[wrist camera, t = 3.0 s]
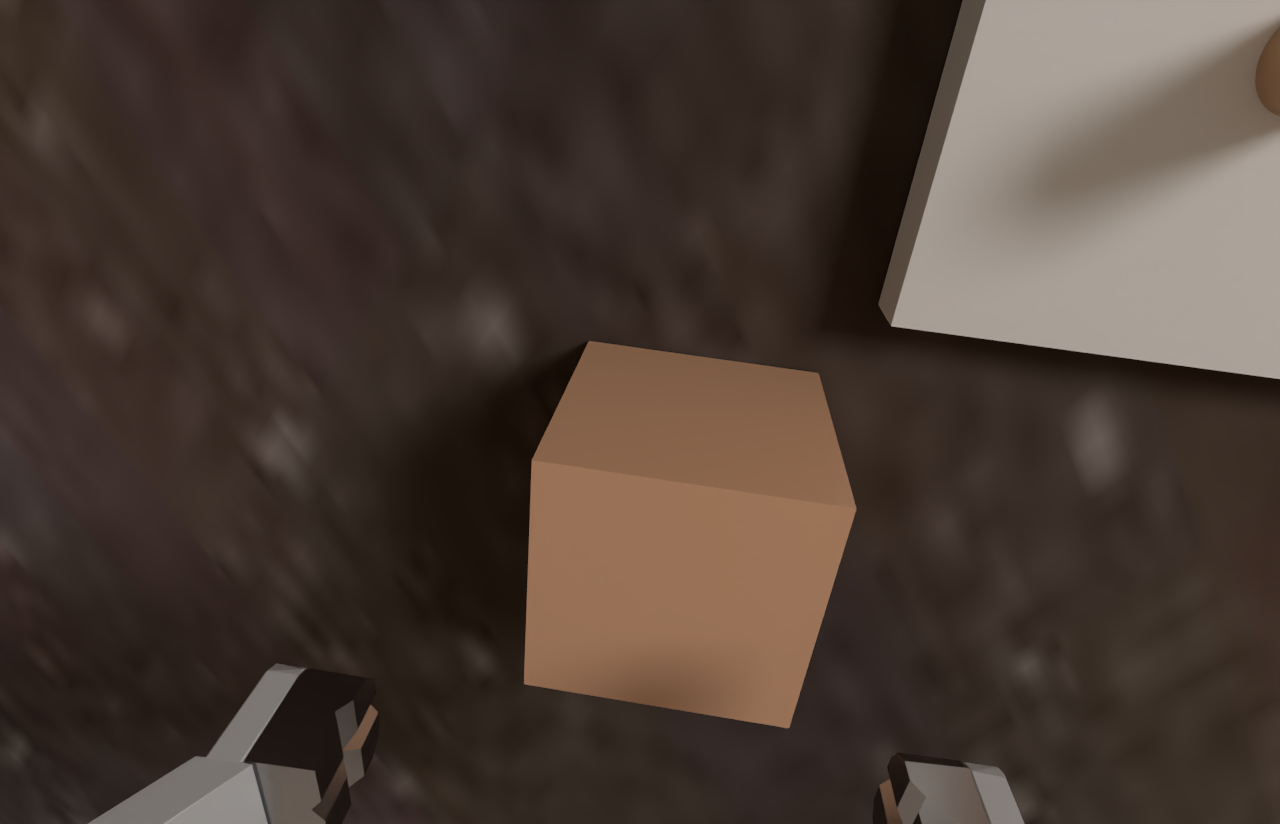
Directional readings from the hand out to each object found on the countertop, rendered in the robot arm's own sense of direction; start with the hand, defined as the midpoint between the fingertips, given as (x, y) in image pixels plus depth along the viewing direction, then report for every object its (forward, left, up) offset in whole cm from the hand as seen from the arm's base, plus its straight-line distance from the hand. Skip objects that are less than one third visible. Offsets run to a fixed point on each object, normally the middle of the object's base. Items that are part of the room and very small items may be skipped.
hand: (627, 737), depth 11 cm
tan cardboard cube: (0, -1, -10) cm, 10 cm away
